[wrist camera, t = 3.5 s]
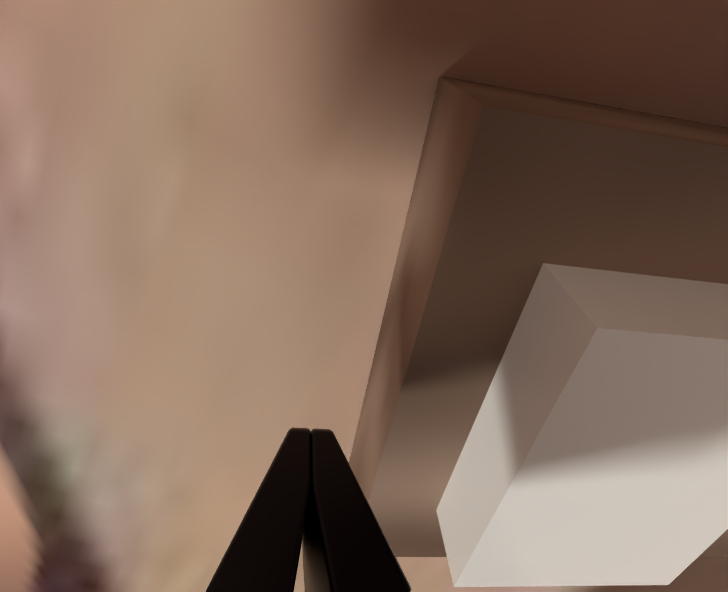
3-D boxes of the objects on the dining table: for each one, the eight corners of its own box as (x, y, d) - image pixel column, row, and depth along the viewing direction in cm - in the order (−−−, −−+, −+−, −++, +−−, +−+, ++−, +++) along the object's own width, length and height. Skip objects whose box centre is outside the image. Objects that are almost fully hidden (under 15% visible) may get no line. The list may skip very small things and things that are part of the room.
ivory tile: (625, 513, 14) (668, 585, 12) (436, 509, 13) (453, 587, 11) (807, 293, 10) (910, 356, 8) (542, 263, 9) (597, 327, 7)
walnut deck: (686, 481, 19) (743, 557, 16) (347, 470, 16) (352, 556, 14) (962, 170, 12) (1138, 217, 9) (439, 76, 9) (483, 105, 7)
